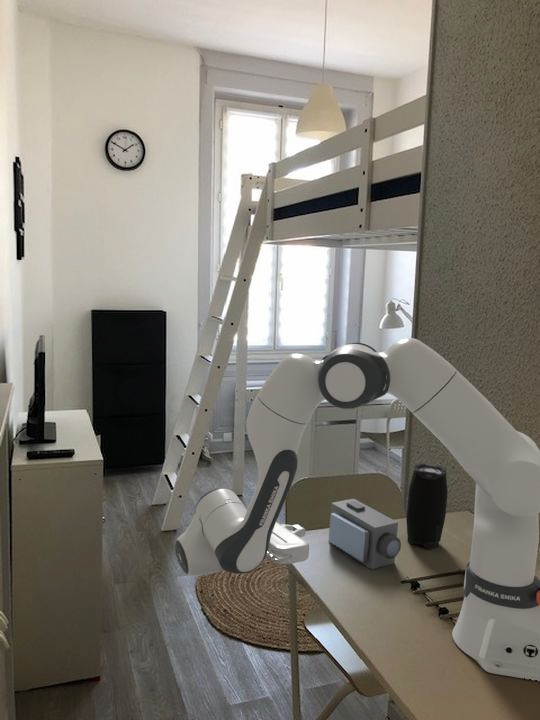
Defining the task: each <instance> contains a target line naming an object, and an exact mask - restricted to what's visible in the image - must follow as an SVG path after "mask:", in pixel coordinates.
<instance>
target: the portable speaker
mask: <svg viewBox="0 0 540 720" xmlns="http://www.w3.org/2000/svg"><path fill="white" fill-rule="evenodd" d="M448 492H449V491H448V480H447V469H446V467H443V466H440V465H437V466H436V465H431V464H430V465H429V464H425V463H417V464H415V465H414V470H413V471H412V476H411V479H410V483H409V486H408V494H407V495H408V496H407V506H406V516H405V518H406V532H407V533H406V534H407V542H408V543H409V544H410V545H415V544H417V545H420V546H423V547H424V548H425V549H427V550H432V549H437V548H438V547H439V544H440V542H441V539H442V533H443V529H444V525H445V520H446V512H447V505H448V504H447V502H448Z"/></svg>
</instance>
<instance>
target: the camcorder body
mask: <svg viewBox="0 0 540 720" xmlns="http://www.w3.org/2000/svg"><path fill="white" fill-rule="evenodd" d="M330 505H331V506H330V515H331V514H332V513H336V514H337V515H339V516H341V517H343V518H345V519H347V520H348V521H350V522H352V523H354V524H356V525H358V526H360V527H361V528H363V529H365V530H367V531H370V538H369V549H368V561H367V563H363V562H362V561H361V560H359V559H357V558H356V557H354V556H352V555H351V554H349V553H347V552H346V551H345V552H344V550H342V551H343V552H344V553H346V554H347V555H349V556H351V557H352V558H353V559H355V560H357V561H358V562H359V561H360V562H359V563H360V564H362V563H363V565H364V566H365V565H366V567H367V568H368V569H370V568H371V569H370V570H374V568H375V569H379V568H381V566H382V567H385V566H390V565H392V564H395V561H396V560H395V559H396V557H397V555H398V554H400V550H401V548H402V543H401V542H402V541H401V540H400V538H399V537H398V530H399V529H398V527H399V522H398V521H397V520H394V519H393V518H391V517H389V516H387V515H386V514H383V513H382V512H379V511H378V510H376V509H374V508H372V507H370V506H369V505H367V504H365V503H363V502H361V501H360V500H358V499H355V498H349V499H345V500H340V501H335V502H334V501H333V502H331V504H330ZM339 550H341V548H339ZM378 567H379V568H378Z"/></svg>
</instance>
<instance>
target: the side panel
mask: <svg viewBox="0 0 540 720" xmlns="http://www.w3.org/2000/svg"><path fill="white" fill-rule="evenodd" d="M328 531H329V533H328V542H329V543H331V544H333V545H334V546H335V545H336V546H335V547H337V548H338V547H339V548H338V549H340V548H341V549H342V551H343V550H344V551H346V552H347V553H349V554H351V555H352V556H354V557H356V558H357V559H359V560H361V561H362V562H363V563H367V561H368V549H369V538H370V531H367V530H365V529H363V528H361V527H360V526H358V525H356V524H354V523H352V522H350V521H348V520H347V519H345V518H343V517H341V516H339V515H337V514H336V513H332V514H331V513H330V518H329V530H328ZM341 549H340V550H341ZM344 551H343V552H344ZM346 552H345V553H346ZM347 553H346V554H347ZM349 554H348V555H349ZM352 556H351V557H352Z"/></svg>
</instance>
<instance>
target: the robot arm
mask: <svg viewBox="0 0 540 720" xmlns="http://www.w3.org/2000/svg"><path fill="white" fill-rule="evenodd" d="M386 394H390V395H392V396H393V397H394V398H396V399H397V400H398V401H400V402H401V404H403V406H404V407H406V409H407V410H409V412H411V414H413V416H414V417H415V418H417V420H418V421H419V422H420V423H422V424H423V426H425V427H426V428H427V430H429V432H431V433H432V434H433V435H434V436H435V437H436V439H438V440H439V442H441V444H442V445H443V446H444V447H445V448H446V449H447V450H448V452H449V453H450V454H451V455H452V456H453V458H454V459H455V460H456V461H457V462H458V463H459V465H460V466H461V467H462V469H464V470H465V472H466V473H467V474H468V475H469V476H470V478H471V479H472V480H473V481H474V482H475V494H474V495H475V496H474V512H473V515H474V516H473V528H472V537H471V538H472V539H471V547H470V555H469V558H470V559H469V561H468V562H467V565H466V568H465V573H464V580H463V595H464V596H463V601H462V605H461V608H460V613H459V615H458V618H457V621H456V623H455V624H454V625H455V626H454V627H453V629H452V633H451V634H452V638H453V642H454V643H455V644H456V645H457V647H458V648H459V649H460V650H461V651H463V653H465V654H466V655H468V656H469V657H471V659H473V660H475V661H476V662H477V663H478V664H479V666H480V667H481V668H482V669H483V670H484V671H486V672H488V673H489V674H495V675H500V676H507V677H512V678H519V679H524V678H525V680H529V679H531V680H530V681H535V680H537V682H540V578H539V577H537V576H536V575H535V573H536V568H537V567H536V565H537V559H538V550H539V544H540V542H539V541H540V525H539V524H540V522H539V521H540V520H539V519H540V518H539V514H540V449H539V447H538V445H537V444H536V442H535V441H534V440H533V439H532V438H531V437H530V436H528V435H527V434H525V433H523V432H520V431H518V430H516V429H515V427H514V426H513V425H512V424H511V423H510V422H509V421H508V420H507V419H506V418H505V417H504V416H503V415H502V414H501V413H500V412H499V411H498V410H497V408H495V406H494V405H493V404H492V402H490V400H489V399H488V398H486V397H485V396H484V395H483V394H482V393H481V392H480V391H479V390H478V389H477V388H476V387H475V386H474V385H473V384H472V383H471V382H470V381H469V380H468V379H467V378H466V377H465V376H463V374H462V373H461V372H459V371H458V370H457V368H455V367H454V365H452V363H450V362H449V361H448V360H446V359H445V358H444V357H443V356H442V355H440V354H439V353H438V352H437V351H435V350H434V349H432V348H431V347H430V346H429V345H428V344H426V343H424V342H422V341H421V340H419V339H417V338H413V337H407V338H402V339H400V340H397V341H396V342H394V343H392V344H391V345H390V346H389V347H387V349H385V350H384V351H383V350H382V351H381V352H379V351H377V350H376V349H375V348H373V347H372V346H370V345H368V344H365V343H362V342H352V343H351V342H350V343H347V344H344V345H340V346H339V347H337V348H335V349H333V350H332V351H331V352H330V353H328V354H327V355H325V356H323V357H322V359H321V360H317V359H315V358H313V357H311V356H310V355H306V354H303V353H291V354H288V355H286V356H284V357H283V358H282V359H281V361H279V362H278V363H277V365H276V367H275V368H274V369H273V370H272V372H270V374H269V376H268V377H267V378H266V379H265V381H264V383H263V385H262V386H261V388H260V390H259V391H258V392H257V395H256V397H255V399H254V400H253V402H252V404H251V405H250V408H249V411H248V414H247V418H246V422H245V426H246V427H245V428H246V436H247V438H248V441H249V443H250V446H251V448H252V451H253V453H254V457H255V458H254V459H255V461H256V465H257V473H258V475H257V477H258V478H257V483H256V488H255V490H254V493H253V495H252V497H251V500H250V502H249V505H248V507H247V508H246V506H245V505H244V504H243V501H242V500H241V499H240V497H239V496H238V495H237V494H236V493H235V492H234V491H233V490H232V489H230V488H227V487H217V488H214V489H211V490H209V491H207V492H206V493H204V494H203V495H201V497H200V498H199V500H198V501H197V503H196V505H195V508H194V509H195V510H194V515H193V517H192V520H191V521H190V523H189V526H187V528H186V530H185V531H184V532H183V533H182V534H181V535H179V536H178V537H177V538H176V540H175V543H174V550H175V556H176V558H177V561H178V564H179V566H180V568H181V569H182V571H183V573H184V574H185V575H188V576H194V577H195V576H198V577H199V576H206V575H210V574H216V573H220V572H223V571H224V572H228V573H231V574H237V575H239V574H240V575H241V574H243V575H244V574H249V573H250V572H251V573H252V572H254V570H256V569H257V568H258V567H260V565H262V563H263V562H264V561H265V558H267V559H268V560H270V561H272V562H274V563H276V564H277V565H278V564H279V565H289V564H296V563H300V562H306V561H307V560H308V559H309V554H310V544H309V542H307V541H306V540H305V539H303V538H302V537H305V536H306V529H305V528H304V527H303V526H301V525H299V524H298V523H297V524H293V525H292V524H284V523H283V524H280V523H279V522H278V519H279V516H280V514H281V511H282V509H283V507H284V504H285V501H286V499H287V497H288V494H289V491H290V489H291V486H292V484H293V482H294V480H295V479H294V478H295V477H296V473H297V469H298V453H299V447H300V443H301V439H302V438H303V434H304V432H305V429H306V427H307V425H308V423H309V422H310V420H311V419H312V416H313V414H314V413H315V411H316V409H318V406H319V405H320V404H321V403H322V402H323V401H327V402H328V403H329V404H330V405H332V406H333V407H337V408H339V409H343V410H353V409H358V408H360V407H363V406H365V405H367V404H369V403H371V402H374V401H375V400H377V399H379V398H381V397H384V396H385V395H386Z"/></svg>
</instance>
